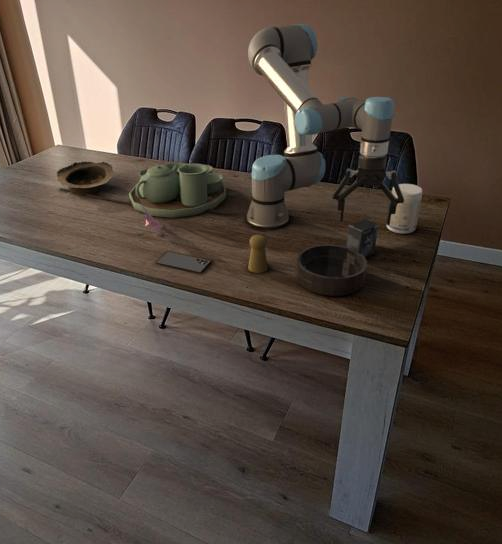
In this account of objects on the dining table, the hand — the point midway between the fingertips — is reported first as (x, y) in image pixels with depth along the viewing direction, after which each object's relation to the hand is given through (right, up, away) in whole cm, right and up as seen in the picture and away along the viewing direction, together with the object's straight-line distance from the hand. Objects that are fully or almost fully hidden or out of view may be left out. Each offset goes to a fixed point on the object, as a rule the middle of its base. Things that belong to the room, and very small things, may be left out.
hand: (364, 221), depth 154 cm
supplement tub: (+19, -1, +19) cm, 28 cm away
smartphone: (-56, -12, +9) cm, 58 cm away
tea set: (-59, +15, +54) cm, 81 cm away
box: (+1, -10, +6) cm, 12 cm away
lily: (-67, -1, +28) cm, 73 cm away
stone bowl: (-99, +21, +69) cm, 122 cm away
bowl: (-12, -18, -5) cm, 22 cm away
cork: (-32, -14, +3) cm, 36 cm away
